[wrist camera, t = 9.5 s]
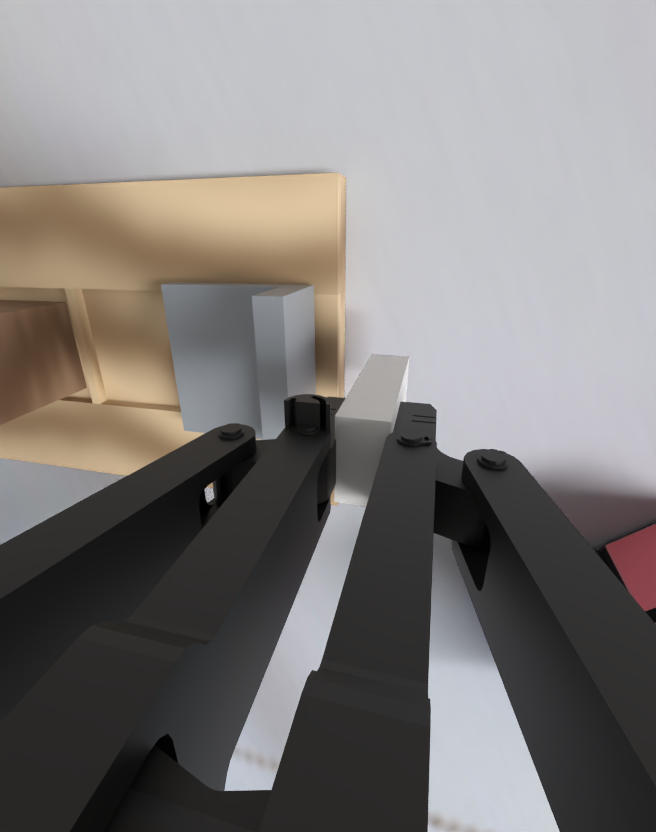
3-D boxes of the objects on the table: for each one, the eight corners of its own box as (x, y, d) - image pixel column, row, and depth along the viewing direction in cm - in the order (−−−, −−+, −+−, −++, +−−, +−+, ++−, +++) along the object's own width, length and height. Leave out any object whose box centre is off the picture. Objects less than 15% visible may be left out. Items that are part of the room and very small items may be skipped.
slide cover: (316, 435, 21) (291, 475, 18) (194, 423, 23) (148, 457, 19) (313, 284, 18) (282, 296, 15) (173, 282, 20) (114, 292, 16)
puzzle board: (343, 489, 25) (337, 505, 23) (5, 444, 30) (-17, 455, 29) (346, 177, 18) (337, 172, 17) (-83, 195, 24) (-116, 192, 22)
